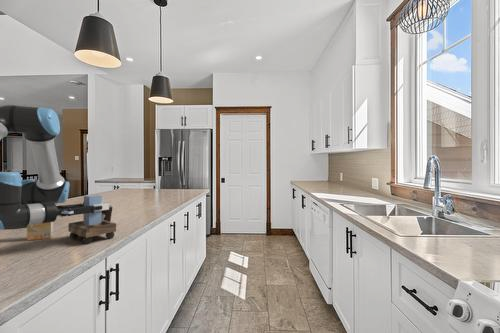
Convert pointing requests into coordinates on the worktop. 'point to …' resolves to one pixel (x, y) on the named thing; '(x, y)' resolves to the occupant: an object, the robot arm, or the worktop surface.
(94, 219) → the slate post
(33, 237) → the supplement box
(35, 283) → the worktop surface
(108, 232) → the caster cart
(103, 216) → the coffee mug
